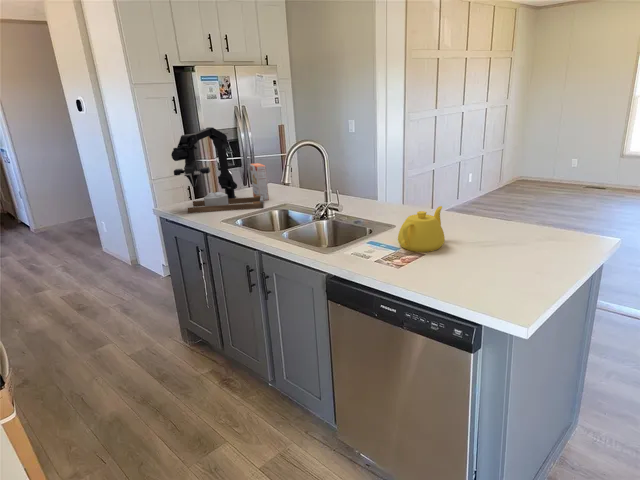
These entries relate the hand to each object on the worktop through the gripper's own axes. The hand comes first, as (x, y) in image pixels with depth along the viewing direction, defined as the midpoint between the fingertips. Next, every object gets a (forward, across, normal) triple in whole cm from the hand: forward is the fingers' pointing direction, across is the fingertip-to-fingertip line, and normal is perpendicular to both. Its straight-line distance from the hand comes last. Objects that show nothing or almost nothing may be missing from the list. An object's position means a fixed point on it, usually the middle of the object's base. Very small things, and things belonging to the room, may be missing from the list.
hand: (194, 186), depth 240 cm
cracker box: (+13, +36, +16) cm, 41 cm away
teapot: (+13, +102, -88) cm, 135 cm away
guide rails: (+13, +16, 0) cm, 21 cm away
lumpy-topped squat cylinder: (+13, +11, 0) cm, 17 cm away
